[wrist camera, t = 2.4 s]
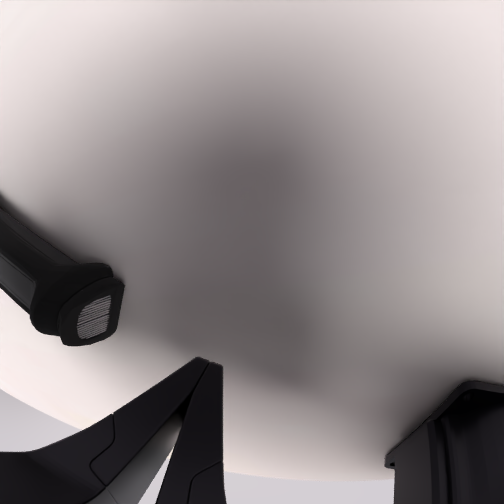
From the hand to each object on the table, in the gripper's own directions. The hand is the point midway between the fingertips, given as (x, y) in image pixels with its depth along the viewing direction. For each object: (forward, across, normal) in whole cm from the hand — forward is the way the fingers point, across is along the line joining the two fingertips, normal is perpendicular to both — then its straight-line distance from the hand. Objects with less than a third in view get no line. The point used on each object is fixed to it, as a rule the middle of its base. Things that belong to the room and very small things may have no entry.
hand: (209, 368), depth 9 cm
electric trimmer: (+2, +12, -1) cm, 12 cm away
